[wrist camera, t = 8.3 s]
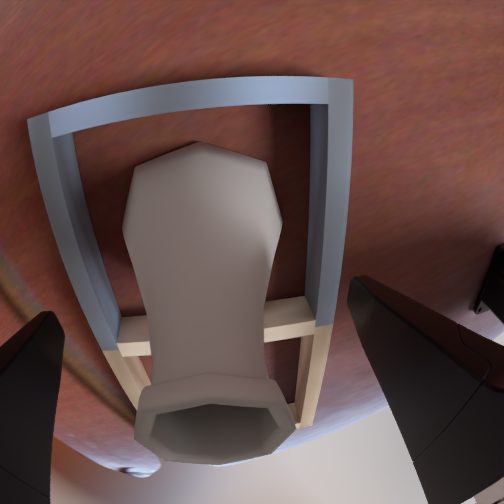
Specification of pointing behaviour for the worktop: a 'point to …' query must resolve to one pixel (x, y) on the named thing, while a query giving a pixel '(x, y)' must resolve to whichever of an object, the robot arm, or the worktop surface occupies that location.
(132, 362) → the caddy
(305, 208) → the worktop surface
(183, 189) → the flask
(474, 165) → the worktop surface
